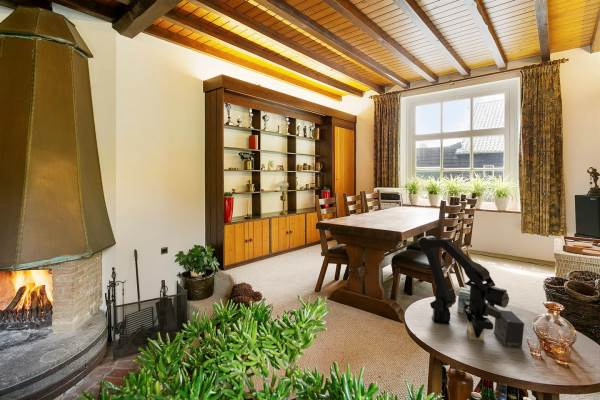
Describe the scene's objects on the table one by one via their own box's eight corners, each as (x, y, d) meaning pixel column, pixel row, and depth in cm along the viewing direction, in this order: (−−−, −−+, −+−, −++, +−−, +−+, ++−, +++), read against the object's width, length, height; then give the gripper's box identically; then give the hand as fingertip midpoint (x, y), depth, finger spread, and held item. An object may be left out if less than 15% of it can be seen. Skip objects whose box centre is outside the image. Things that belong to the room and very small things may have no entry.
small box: (523, 349, 116) (525, 323, 115) (504, 347, 117) (506, 321, 116) (510, 334, 126) (512, 310, 125) (493, 332, 128) (494, 309, 127)
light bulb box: (457, 312, 146) (458, 290, 145) (458, 307, 152) (460, 286, 151) (482, 318, 140) (484, 296, 139) (483, 312, 146) (485, 291, 144)
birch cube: (470, 339, 123) (471, 327, 122) (466, 332, 128) (467, 321, 127) (483, 340, 122) (484, 328, 121) (479, 334, 127) (480, 322, 126)
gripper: (510, 310, 112) (507, 349, 114) (490, 291, 130) (488, 325, 132) (477, 307, 115) (474, 345, 116) (462, 288, 133) (460, 322, 134)
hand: (475, 334), depth 125 cm, fingers closed on birch cube, 5 cm apart
